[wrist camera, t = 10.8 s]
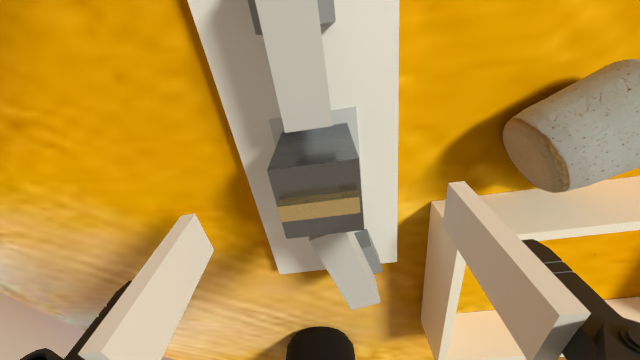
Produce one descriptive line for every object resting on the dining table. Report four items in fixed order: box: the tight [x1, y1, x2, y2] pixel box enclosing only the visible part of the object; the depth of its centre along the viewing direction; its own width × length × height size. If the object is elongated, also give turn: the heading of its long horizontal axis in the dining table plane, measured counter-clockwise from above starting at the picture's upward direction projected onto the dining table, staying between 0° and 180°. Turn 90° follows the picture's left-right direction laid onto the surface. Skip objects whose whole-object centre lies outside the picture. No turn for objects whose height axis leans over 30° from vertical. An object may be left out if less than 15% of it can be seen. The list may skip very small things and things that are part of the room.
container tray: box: [420, 176, 640, 360], centre depth 28 cm, size 22×32×6 cm
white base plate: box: [187, 0, 399, 310], centre depth 20 cm, size 30×14×7 cm, turn 8°
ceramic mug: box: [502, 59, 640, 193], centre depth 20 cm, size 11×8×8 cm
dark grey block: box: [267, 123, 364, 239], centre depth 19 cm, size 6×6×8 cm
